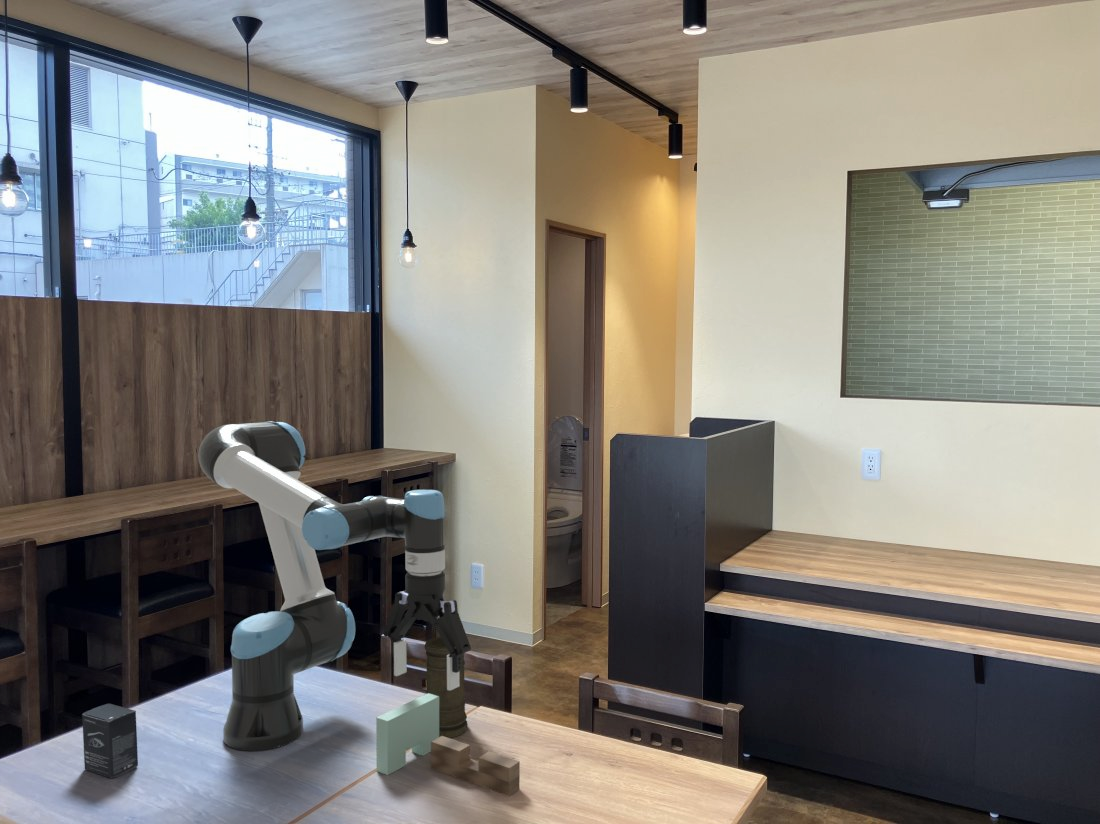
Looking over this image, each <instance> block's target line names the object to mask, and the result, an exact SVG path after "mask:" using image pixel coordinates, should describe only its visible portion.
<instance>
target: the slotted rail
mask: <svg viewBox="0 0 1100 824" xmlns="http://www.w3.org/2000/svg"><path fill="white" fill-rule="evenodd" d="M520 764H521V763H520V760H516V759H513V758H511V757H508V756H504V755H501V754H499V753H496V752H492V751H487V752H485V753H484V754H483V755H480V756H479V757H478V760H475V759H473V758H471V745H470V744H468V743H465V742H462V741H460V740H459V741H458V740H456V739H453V738H451V737H448V738H447V737H444V736H440V737H438V738H437V739H435V740H433V741H431V752H430V769H432V770H435V771H438V772H440V773H444V774H447V775H448V776H452V777H455V778H458V779H460V780H463V781H465V782H469V783H472V784H473V785H474V784H475V785H477V786H478V787H482V788H485V789H487V790H492V791H493V792H495V793H499V794H502V795H505V796H507V797H511V796H512V795H513V794H515V793H516V792H517V791H519V790H520V776H521V775H520V772H521V771H520V769H521V768H520V766H521V765H520Z"/></svg>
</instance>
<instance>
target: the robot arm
mask: <svg viewBox="0 0 1100 824" xmlns="http://www.w3.org/2000/svg"><path fill="white" fill-rule="evenodd" d="M301 435H302V434H300V432H299V431H298V430H297V429H296V428H295V427H294V426H292V425H290V424H288V423H287V422H282V421H276V422H275V421H271V420H270V421H264V422H252V423H251V422H249V423H237V424H236V423H231V424H230V423H228V424H223V425H220V426H218V427H216V428H214V429H212V430H211V431H209V432H208V433H207V434H206V435H205V436H204V438H203V440H202V441H201V443H200V446H199V448H198V453H197V454H198V458H197V459H198V464H199V467H200V469H201V470H202V472H203V473H204V475H205V476H206V477H207V478H208V479H209V480H211V481H212V482H213V483H214V484H217V485H218V486H220V487H222V488H224V489H235V490H237V491H238V492H240V493H241V494H244V495H245V496H246V497H248V498H250V499H251V500H254V501H255V502H257V503H258V506H259V509H260V513H261V516H262V517H261V518H262V520H263V524H264V527H265V531H266V534H267V537H268V542H269V545H270V549H271V550H270V551H271V552H272V556H273V560H274V561H273V562H274V564H275V568H276V572H277V575H278V579H279V582H280V586H281V589H282V594H283V597H284V602H283V605H281V608H280V611H276V610H275V611H268V612H265V613H264V612H262V613H257V614H254V615H251V616H249V617H247V618H245V619H243V620H241V621H240V622H239V623H238V624H236V626H235V627H234V628H233V631H232V635H231V637H232V638H231V645H230V653H231V683H232V684H231V685H232V687H231V689H232V695H231V696H232V697H231V698H232V699H231V704H230V707H229V711H228V714H227V717H226V720H225V721H226V722H225V724H223V725H224V726H223V733H222V735H223V736H222V737H223V739H224V740H223V743H224V742H225V743H226V744H227V745H228V746H227V745H226V744H225V743H224V744H225V745H226V746H227V747H229V748H231V749H234V748H235V749H234V750H238V751H247V752H248V751H250V752H251V751H256V752H257V751H265V750H271V749H275V748H279V747H282V746H285V745H288V744H290V743H292V742H293V741H296V740H297V739H298V738H300V736H301V735H302V734H303V731H304V720H303V715H302V713H301V709H300V707H299V704H298V701H297V699H296V696H295V693H294V692H295V691H294V681H295V680H294V679H295V677H294V675H295V674H298V673H300V672H304V671H307V670H310V669H311V668H315V667H317V666H320V665H323V664H327V663H330V662H334V660H336V659H338V658H340V657H343V656H344V655H345V654H346V653H348V651H349V650H350V649H351V647H352V645H353V641H354V639H355V636H356V622H355V617H354V615H353V612H352V610H351V609H350V607H348V606H347V604H345V603H344V602H341V601H338V600H337V597H336V594H335V592H334V591H332V590H330V589H328V588H327V587H326V585H325V582H324V577H323V575H322V571H321V568H320V567H321V566H320V563H319V561H318V557H317V553H316V550H317V551H322V550H323V551H324V550H334V549H338V548H340V547H345V546H348V545H353V544H356V543H362V542H367V541H370V540H375V539H379V538H384V537H391V538H398V539H399V538H400V539H404V553H405V555H404V556H405V558H404V559H405V560H404V561H405V570H406V574H405V576H404V579H405V582H404V583H405V585H404V586H405V590H403V591H399V592H396V593H395V594H394V603H393V606H392V608H391V612H390V614H389V617H388V619H387V623H386V624H385V628H384V629H383V636H384V637H386V638H387V637H388V638H389V640H390V641H391V655H392V658H393V675H394V676H395V677H398V676H401V675H403V674H406V673H407V669H408V668H407V667H408V666H407V662H408V661H407V639H404V638H405V635H406V634H407V633H408V631H409V630H410V628H411V627H412V625H413V624H414V623H415V621H416V620H418V621H421V620H422V621H423V622H426V623H430V625H432V626H433V627H434V628H435V630H436V632H437V633H438V635H439V637H441V638H442V640H443V642H444V644H445V645H446V647H447V649H448V651H449V652H450V654H449V655H447V690H449V691H451V690H453V689H455V688H457V687H459V686H460V683H459V671H461V670H462V654H464V655H465V654H466V653H468V652H470V651H471V649H472V648H471V644H470V642H469V639H468V637H467V633H466V631H465V628H464V624H463V622H462V619H461V617H460V614H459V610H458V603H457V600H456V599H452V600H448V601H447V600H444V596H443V595H444V592H445V591H446V590H445V589H446V573H445V572H444V570H445V568H446V551H445V548H446V547H445V545H446V544H445V528H446V527H445V525H446V524H445V523H446V520H445V519H446V510H445V499H444V495H443V493H442V492H441V491H439V490H436V489H413V490H410V491H407V492H406V493H405V494H404V498H398V497H397V498H396V497H389V496H385V495H375V496H374V495H368V496H366V497H364V498H363V499H361V501H356V502H350V503H345V504H342V503H340V502H338V501H336V500H333V499H332V498H330V497H328V496H327V495H325V494H323V493H322V492H320V491H318V490H316V489H314V488H312V487H311V486H309V485H307V484H306V483H303V482H302V481H300V480H299V478H300V476H301V475H302V474H301V471H300V468H301V467H302V466H303V465H304V462H305V459H306V458H305V457H304V456H306V446H305V443H304V439H303V437H302V436H301ZM407 606H409V608H408V609H407ZM406 609H407V610H406ZM405 610H406V611H405ZM404 613H405V614H404ZM403 616H404V617H403ZM454 647H455V648H454Z"/></svg>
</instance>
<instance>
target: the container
mask: <svg viewBox="0 0 1100 824" xmlns="http://www.w3.org/2000/svg"><path fill="white" fill-rule="evenodd" d="M454 648H455V647H454ZM424 649H425V650H426V651H425V654H426V663H425V666H426V694H428V693H429V694H433V695H436V696H439V737H440V736H444V737H447V738H453V737H458V736H461V735H462V734H464V733H465V732H466V731H467V730H468V729H467V728H468V721H467V718H468V717H467V714H466V699H465V664H466V662H465V653H464V654H462V670H461V671H459V683H460V686H459V687H457V688H455V689H453V690H451V691H449V690H447V655H449V654H450V652H449V651H448V649H447V647H446V645H445V644H444V642H443V640H442V638H441V637H440V636H439V637H438V636H437V637H436V636H435V637H433V638H430V639H428V640H426V641H425V644H424Z"/></svg>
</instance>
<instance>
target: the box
mask: <svg viewBox="0 0 1100 824" xmlns="http://www.w3.org/2000/svg"><path fill="white" fill-rule="evenodd" d="M81 718H82V719H81V720H82V738H83V739H82V740H83V759H84V760H83V761H84V762H83V763H84V770H86V771H89V772H91V773H95V774H96V775H97V774H98V775H101V776H103V777H107V778H108V779H113V778H116V777H117V778H118V777H119V776H121V775H123V774H125V773H127V772H130V771H131V770H133V769H136V768H137V767H138V765H139V762H138V761H139V760H138V759H139V758H138V756H139V755H138V735H137V733H138V732H137V731H138V729H137V711H136V710H134V709H130V708H128V707H127V708H126V707H123V706H119V705H116V704H112V703H106V704H103V705H102V704H101V705H100V706H97V707H94V708H91V709H90V710H86V711H85V712H83V713H82V714H81Z"/></svg>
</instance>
